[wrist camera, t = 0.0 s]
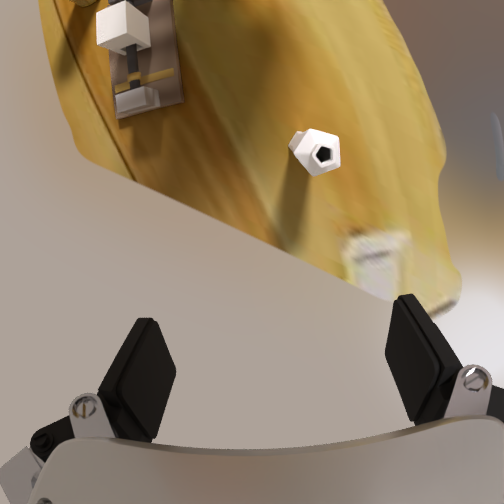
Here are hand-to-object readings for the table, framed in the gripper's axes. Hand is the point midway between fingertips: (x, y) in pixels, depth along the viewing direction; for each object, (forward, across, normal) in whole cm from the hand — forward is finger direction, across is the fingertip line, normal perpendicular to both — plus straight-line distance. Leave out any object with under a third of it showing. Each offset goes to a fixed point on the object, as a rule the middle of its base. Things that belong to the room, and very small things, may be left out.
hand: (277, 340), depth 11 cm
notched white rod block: (+29, +15, -25) cm, 41 cm away
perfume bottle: (+31, -5, -5) cm, 32 cm away
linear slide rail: (+31, +15, -23) cm, 42 cm away
